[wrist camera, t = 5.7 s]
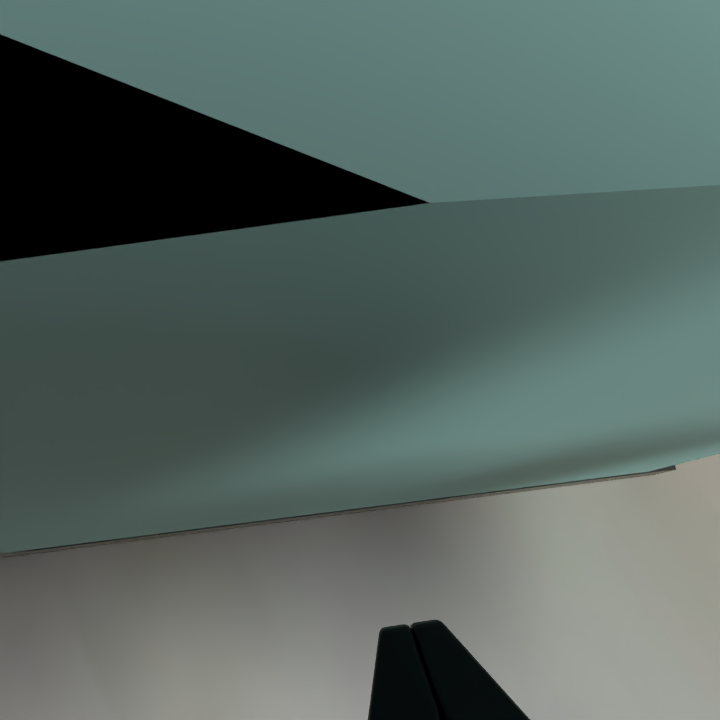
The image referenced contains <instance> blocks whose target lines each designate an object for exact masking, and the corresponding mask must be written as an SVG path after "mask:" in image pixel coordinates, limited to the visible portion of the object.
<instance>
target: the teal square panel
mask: <svg viewBox="0 0 720 720" xmlns="http://www.w3.org/2000/svg"><path fill="white" fill-rule="evenodd" d="M716 454H720V0H0V552H5V553H8V552H16V551H24V550H32V549H40V548H48V547H56V546H64V545H72V544H79V543H87V542H95V541H103V540H111V539H119V538H127V537H135V536H143V535H151V534H159V533H166V532H174V531H182V530H190V529H198V528H206V527H214V526H222V525H230V524H238V523H246V522H254V521H261V520H269V519H277V518H285V517H293V516H301V515H309V514H317V513H325V512H333V511H341V510H348V509H356V508H364V507H372V506H380V505H388V504H396V503H404V502H412V501H420V500H428V499H436V498H443V497H451V496H459V495H467V494H475V493H483V492H491V491H499V490H507V489H515V488H523V487H530V486H538V485H546V484H554V483H562V482H570V481H578V480H586V479H594V478H602V477H610V476H617V475H625V474H633V473H641V472H649V471H653V470H657V469H661V468H664V467H668V466H672V465H676V464H680V463H684V462H688V461H692V460H696V459H700V458H704V457H708V456H712V455H716Z"/></svg>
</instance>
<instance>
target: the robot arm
mask: <svg viewBox="0 0 720 720" xmlns="http://www.w3.org/2000/svg"><path fill="white" fill-rule="evenodd" d="M368 720H530V719H529V718H528V717H527V716H526V715H525V714H524V712H523V711H522V710H521V709H520V708H519V707H518V706H517V705H516V704H515V702H514V701H513V700H512V699H511V698H510V697H509V696H508V695H507V694H506V692H505V691H504V690H503V689H502V688H501V687H500V686H499V685H498V684H497V682H496V681H495V680H494V679H493V678H492V677H491V676H490V675H489V674H488V672H487V671H486V670H485V669H484V668H483V667H482V666H481V665H480V664H479V662H478V661H477V660H476V659H475V658H474V657H473V656H472V655H471V654H470V652H469V651H468V650H467V649H466V648H465V647H464V646H463V645H462V644H461V642H460V641H459V640H458V639H457V638H456V637H455V636H454V635H453V634H452V632H451V631H450V630H449V629H448V628H447V627H446V626H445V625H444V624H443V623H442V622H441V621H439V620H429V621H422V622H416V623H413V624H412V625H411V627H409V626H408V625H405V624H403V625H396V626H390V627H384V628H382V629H381V630H380V632H379V638H378V646H377V654H376V661H375V669H374V677H373V685H372V692H371V700H370V708H369V715H368Z"/></svg>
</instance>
